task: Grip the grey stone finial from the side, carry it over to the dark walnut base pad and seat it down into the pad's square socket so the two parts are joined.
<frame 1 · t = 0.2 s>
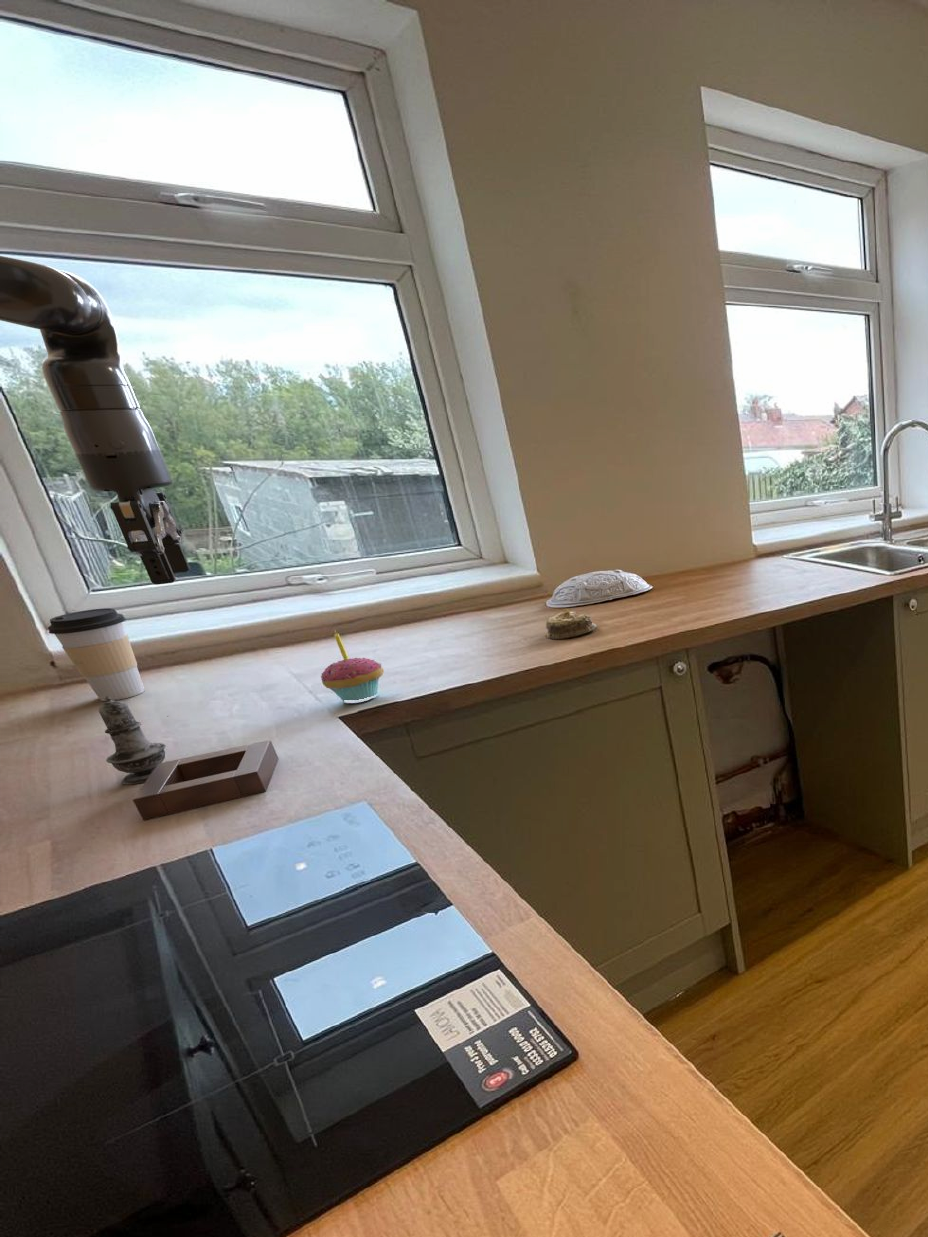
hand: (172, 577, 102), 26 cm above the worktop, tool pointing down, fingers open, 8 cm apart
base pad: (216, 787, 102), on the worktop
grey stone finial: (148, 776, 107), on the worktop
cupcake: (362, 700, 131), on the worktop
coffee cup: (124, 695, 138), on the worktop
cake: (572, 633, 162), on the worktop
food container: (601, 596, 190), on the worktop
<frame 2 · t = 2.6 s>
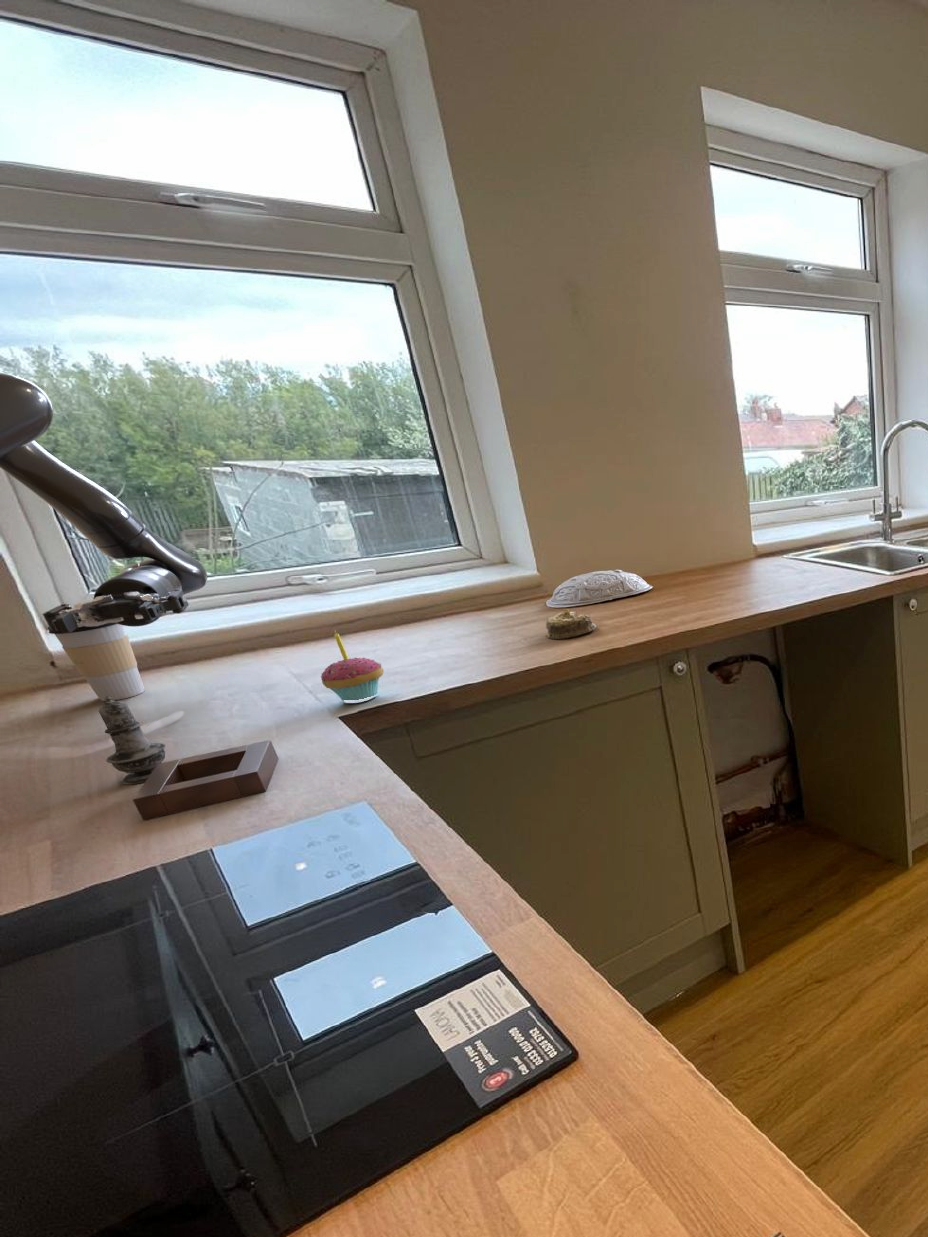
hand: (104, 620, 107), 20 cm above the worktop, tool horizontal, fingers open, 8 cm apart
nothing on the worktop moved.
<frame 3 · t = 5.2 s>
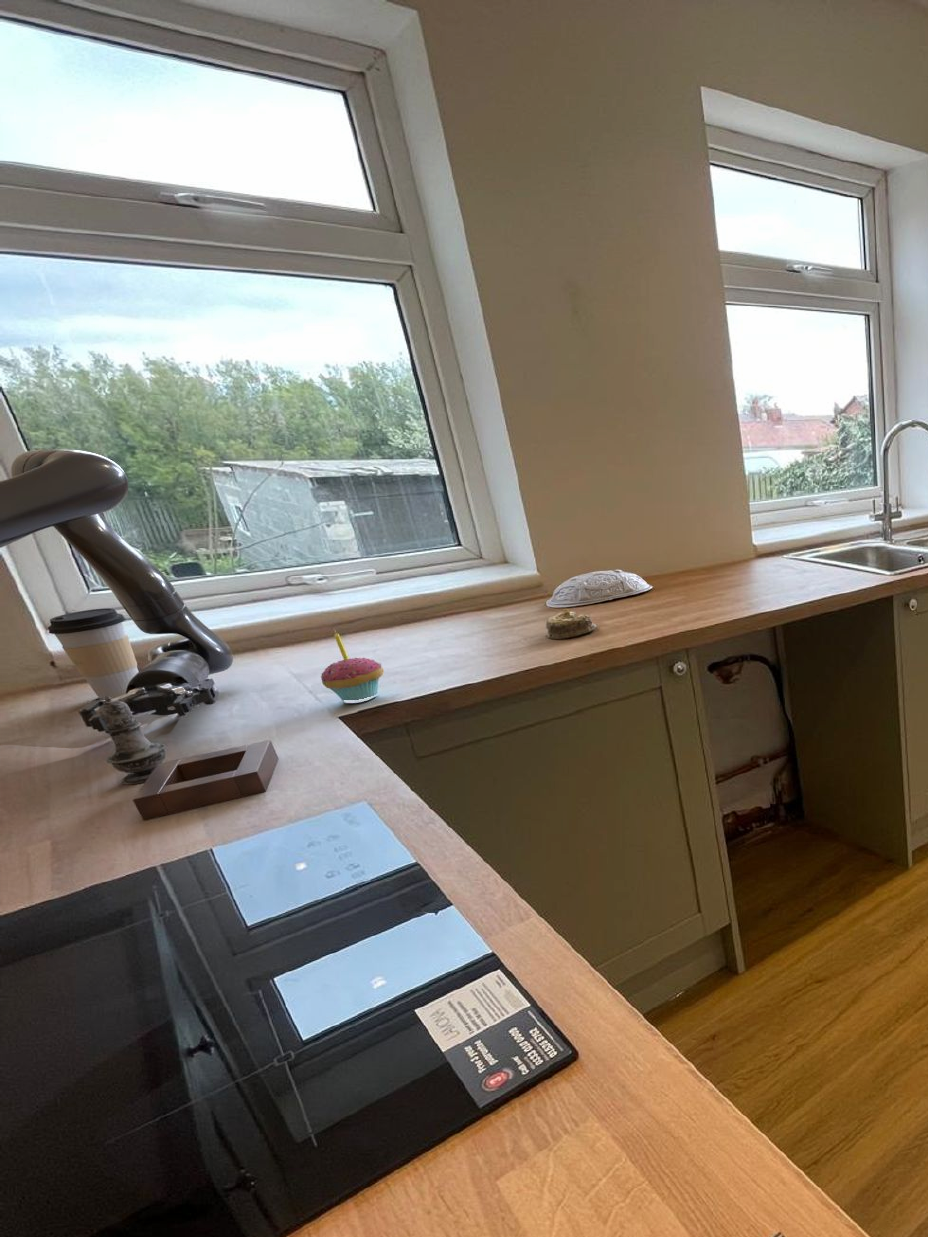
hand: (139, 717, 109), 7 cm above the worktop, tool horizontal, fingers open, 8 cm apart
nothing on the worktop moved.
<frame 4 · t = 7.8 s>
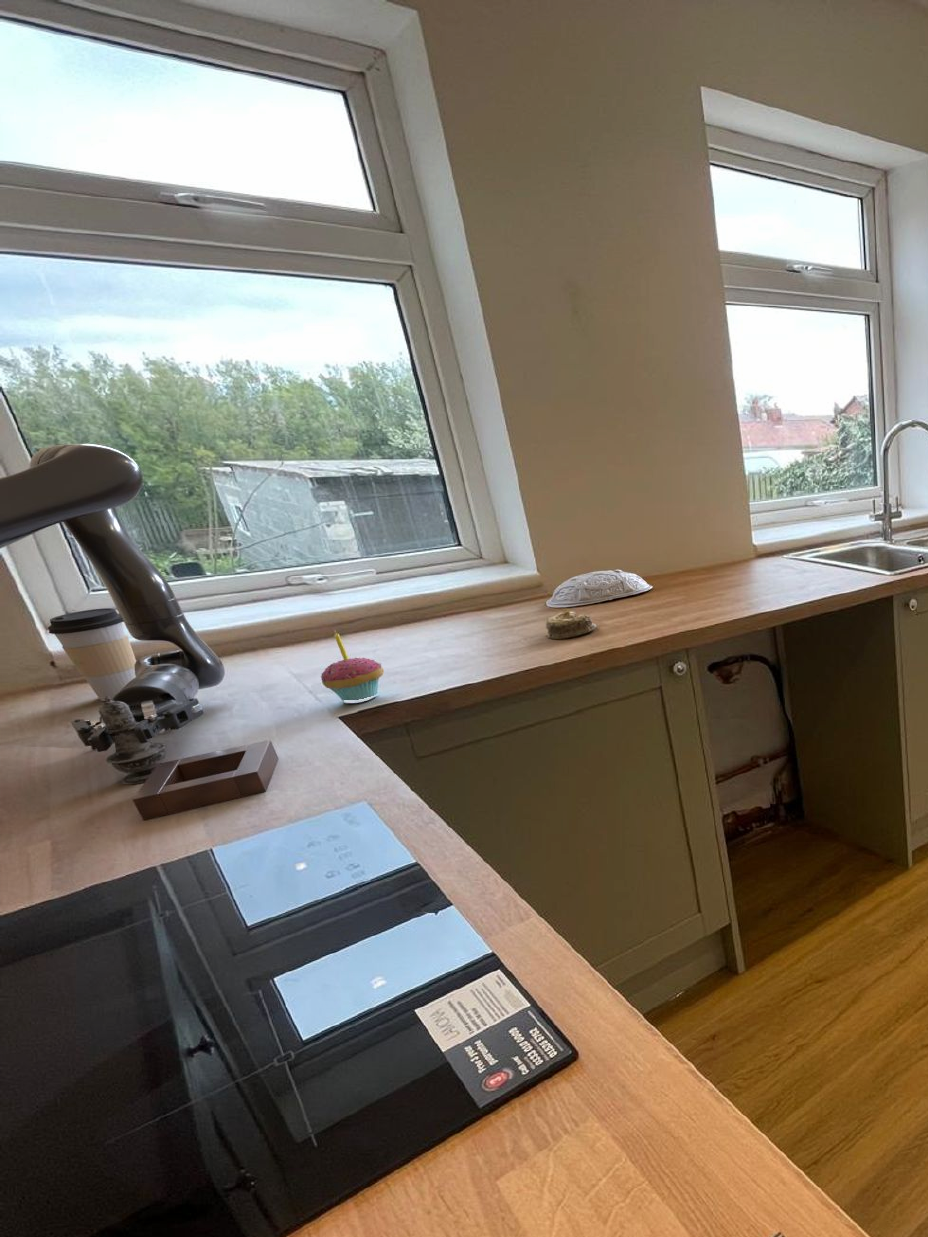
hand: (120, 740, 102), 7 cm above the worktop, tool horizontal, fingers closed on grey stone finial, 3 cm apart
grey stone finial: (148, 776, 107), on the worktop, touching gripper
everything else where it was.
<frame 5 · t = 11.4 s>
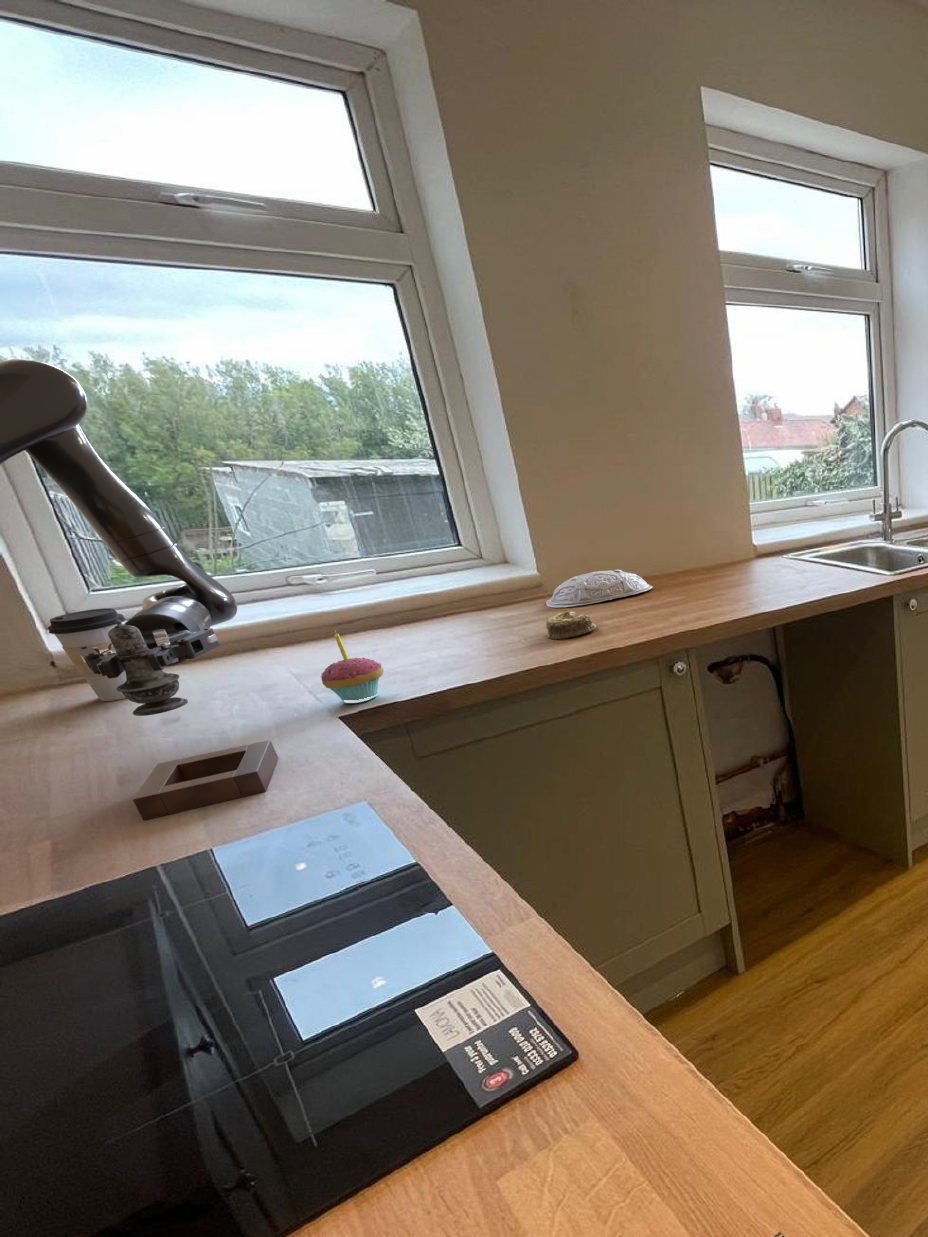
hand: (131, 666, 95), 18 cm above the worktop, tool horizontal, fingers closed on grey stone finial, 3 cm apart
grey stone finial: (161, 708, 99), point 11 cm above the worktop, touching gripper
everything else where it was.
when the fingers open (7 cm above the worktop, at t = 15.3 s): grey stone finial stays where it is, resting in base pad.
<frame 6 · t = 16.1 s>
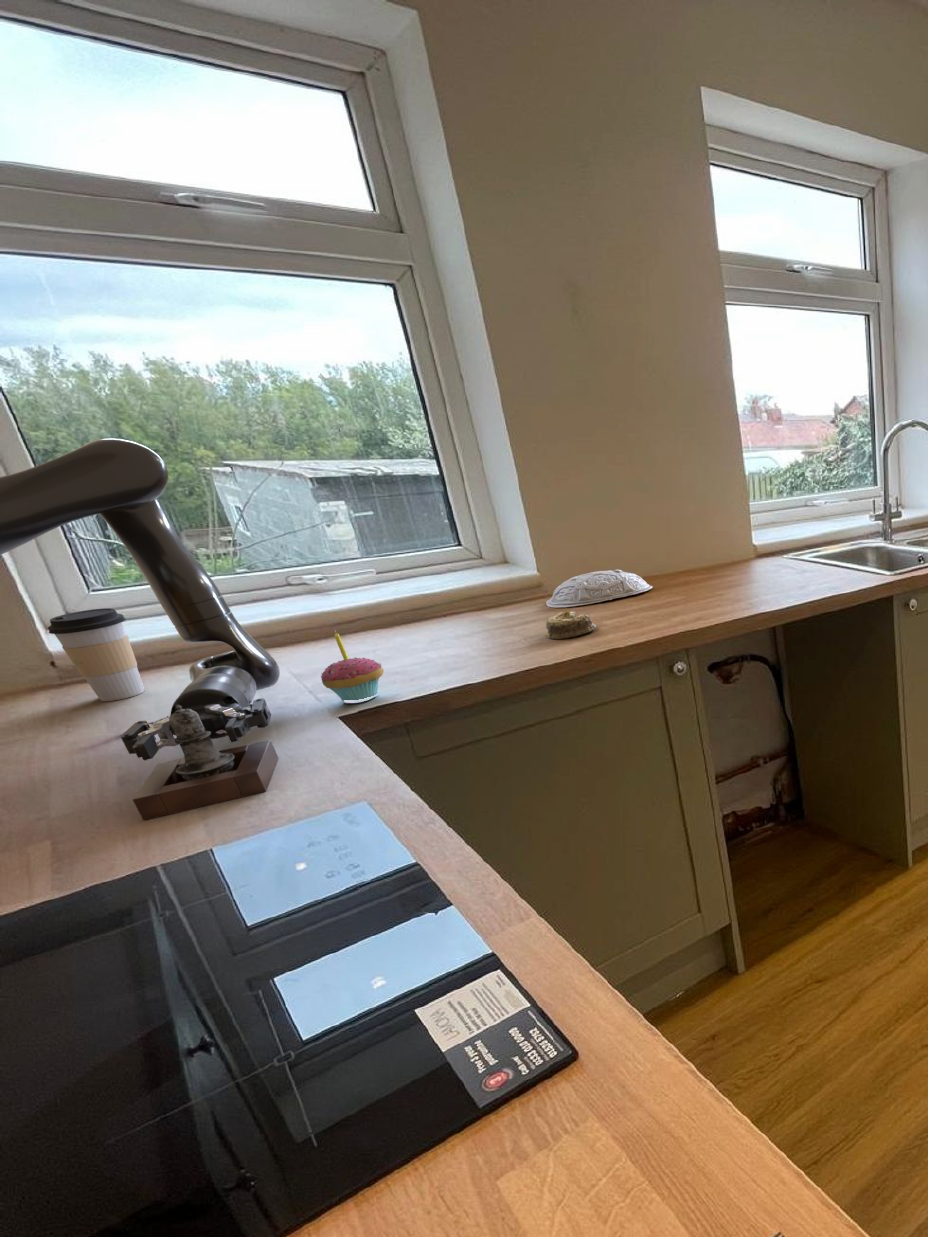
hand: (188, 743, 98), 7 cm above the worktop, tool horizontal, fingers open, 8 cm apart
grey stone finial: (217, 788, 103), resting in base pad
everything else where it was.
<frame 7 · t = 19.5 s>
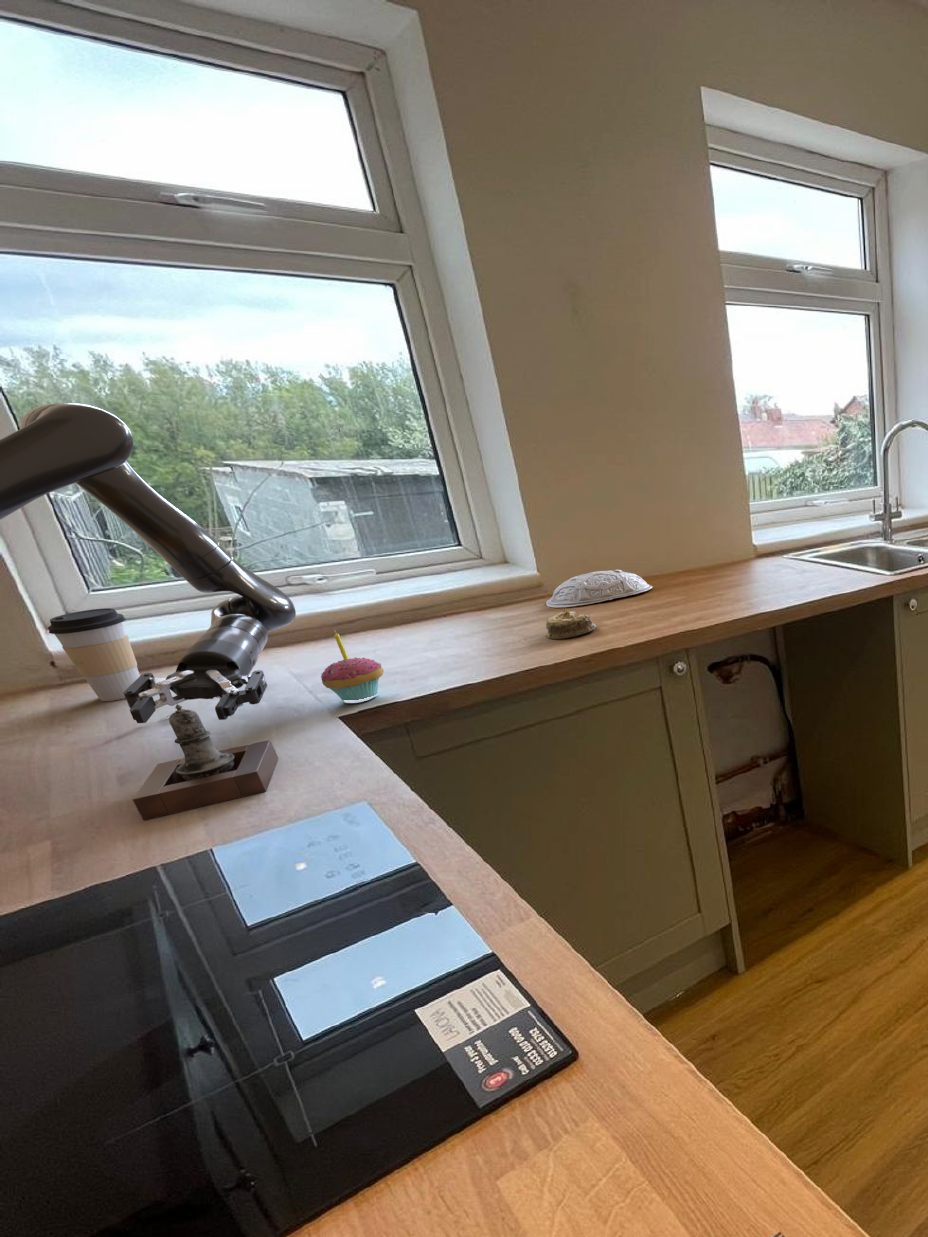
hand: (180, 716, 106), 8 cm above the worktop, tool horizontal, fingers open, 8 cm apart
nothing on the worktop moved.
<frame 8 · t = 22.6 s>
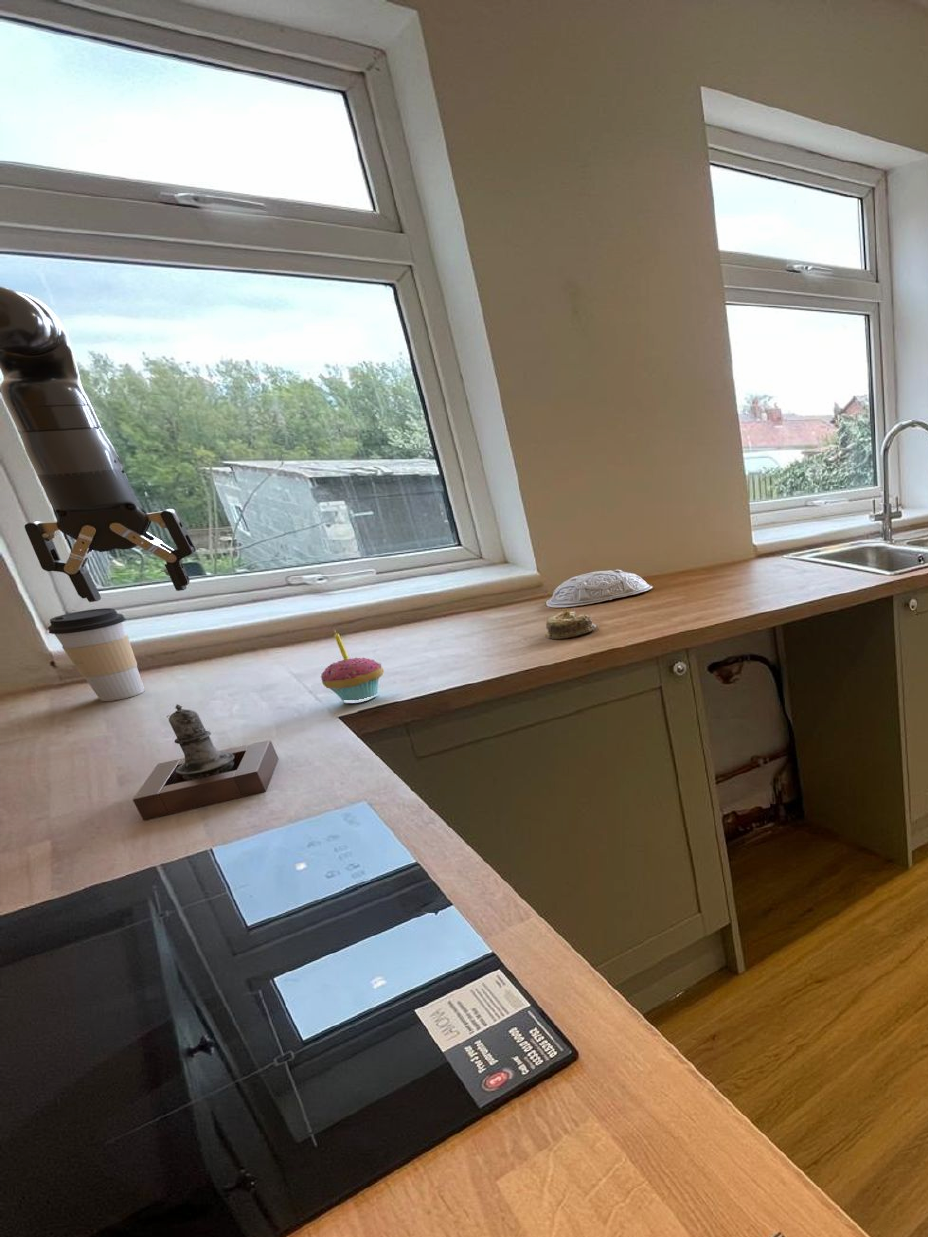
hand: (139, 595, 102), 24 cm above the worktop, tool pointing down, fingers open, 8 cm apart
nothing on the worktop moved.
at the end: grey stone finial 0.1 cm off-centre in the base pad, point 0.0 cm above the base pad's base; grey stone finial tilted 0°; the gripper is holding nothing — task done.
